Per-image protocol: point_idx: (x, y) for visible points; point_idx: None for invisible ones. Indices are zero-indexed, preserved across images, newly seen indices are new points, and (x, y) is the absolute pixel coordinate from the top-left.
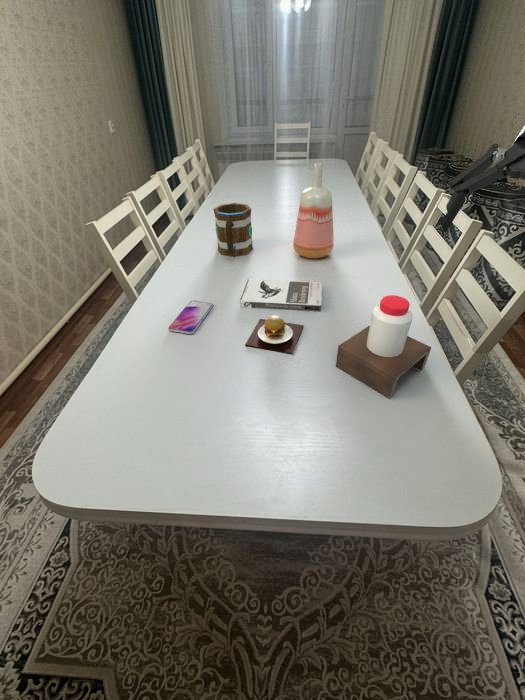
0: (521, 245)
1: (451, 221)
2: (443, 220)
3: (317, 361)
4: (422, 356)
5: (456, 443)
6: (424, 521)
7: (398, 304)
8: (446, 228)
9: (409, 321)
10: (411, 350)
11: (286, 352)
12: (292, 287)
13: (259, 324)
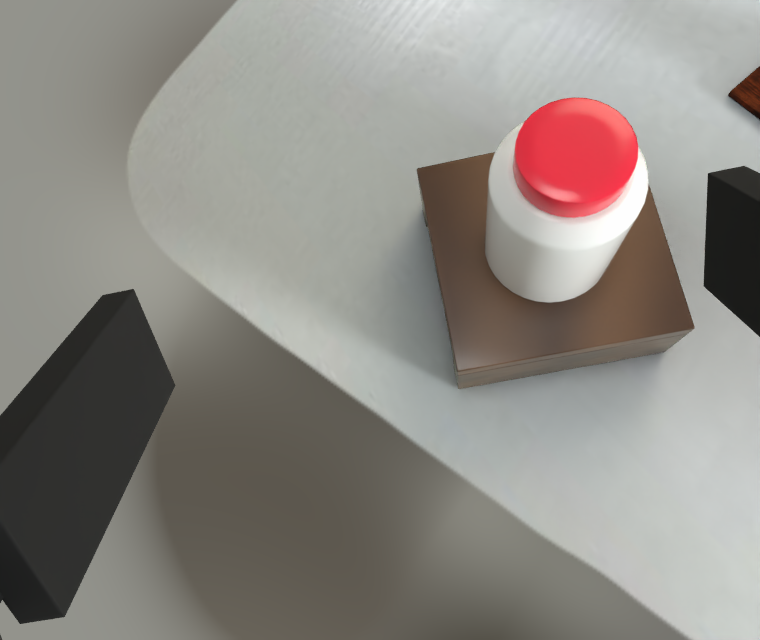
0: (144, 320)
1: (747, 303)
2: (745, 174)
3: (658, 139)
4: (446, 320)
5: (239, 238)
6: (183, 65)
7: (553, 146)
8: (708, 259)
9: (489, 192)
10: (481, 300)
11: (743, 80)
12: None
13: None
